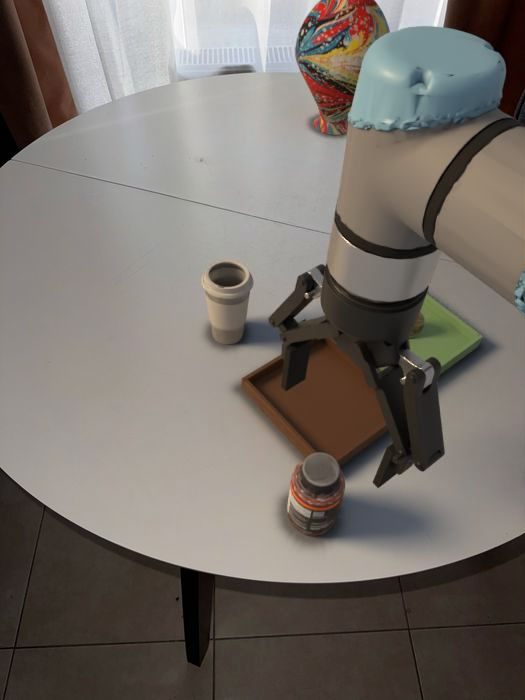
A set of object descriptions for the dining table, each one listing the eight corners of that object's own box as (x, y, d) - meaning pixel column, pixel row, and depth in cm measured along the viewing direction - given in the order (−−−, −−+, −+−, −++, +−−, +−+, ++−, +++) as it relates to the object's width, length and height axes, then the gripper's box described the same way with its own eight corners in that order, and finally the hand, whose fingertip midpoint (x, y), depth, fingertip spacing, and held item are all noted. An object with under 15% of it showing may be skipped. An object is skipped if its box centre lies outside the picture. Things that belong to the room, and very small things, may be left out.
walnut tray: (407, 416, 79) (411, 406, 77) (324, 478, 72) (327, 469, 70) (322, 339, 87) (324, 328, 85) (241, 388, 80) (241, 378, 79)
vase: (284, 143, 121) (296, -19, 98) (293, 99, 133) (306, -54, 110) (375, 153, 120) (409, -9, 97) (376, 108, 132) (406, -45, 109)
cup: (197, 343, 85) (193, 284, 76) (212, 312, 89) (210, 252, 80) (244, 354, 84) (245, 296, 75) (256, 322, 88) (259, 263, 79)
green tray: (478, 346, 87) (483, 336, 85) (410, 396, 81) (414, 386, 79) (394, 282, 95) (397, 271, 94) (326, 322, 89) (328, 312, 87)
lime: (424, 333, 88) (432, 311, 84) (401, 348, 86) (409, 325, 82) (402, 316, 90) (410, 293, 86) (380, 329, 88) (387, 306, 84)
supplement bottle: (317, 482, 72) (329, 434, 63) (345, 522, 69) (362, 477, 60) (276, 504, 70) (282, 458, 61) (303, 547, 67) (314, 504, 58)
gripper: (558, 355, 37) (458, 500, 53) (305, 169, 49) (286, 334, 65) (484, 414, 34) (401, 549, 50) (233, 200, 46) (232, 365, 62)
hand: (336, 427), depth 58 cm, fingers open, 13 cm apart
